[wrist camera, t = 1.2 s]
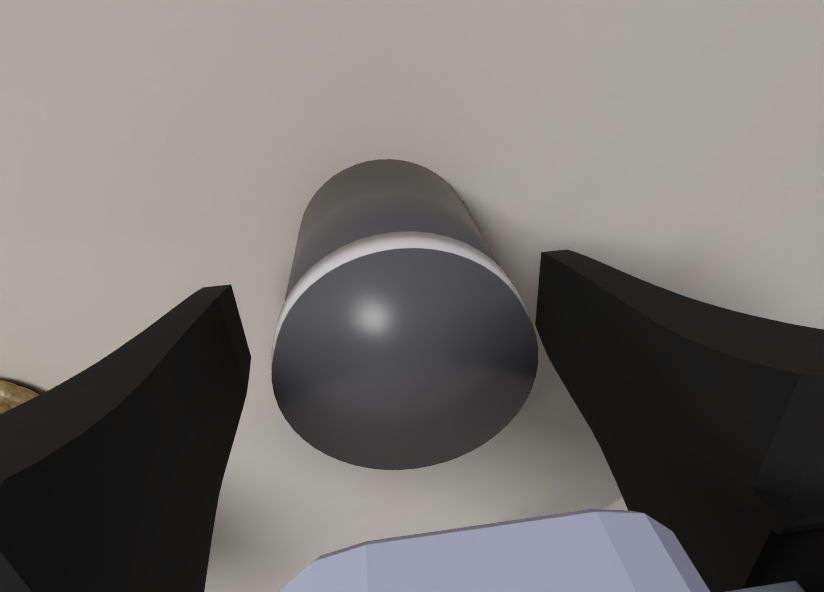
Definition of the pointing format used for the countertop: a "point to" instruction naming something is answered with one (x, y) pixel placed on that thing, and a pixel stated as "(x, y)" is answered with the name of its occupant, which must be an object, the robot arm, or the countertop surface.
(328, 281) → the lens
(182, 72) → the countertop surface
